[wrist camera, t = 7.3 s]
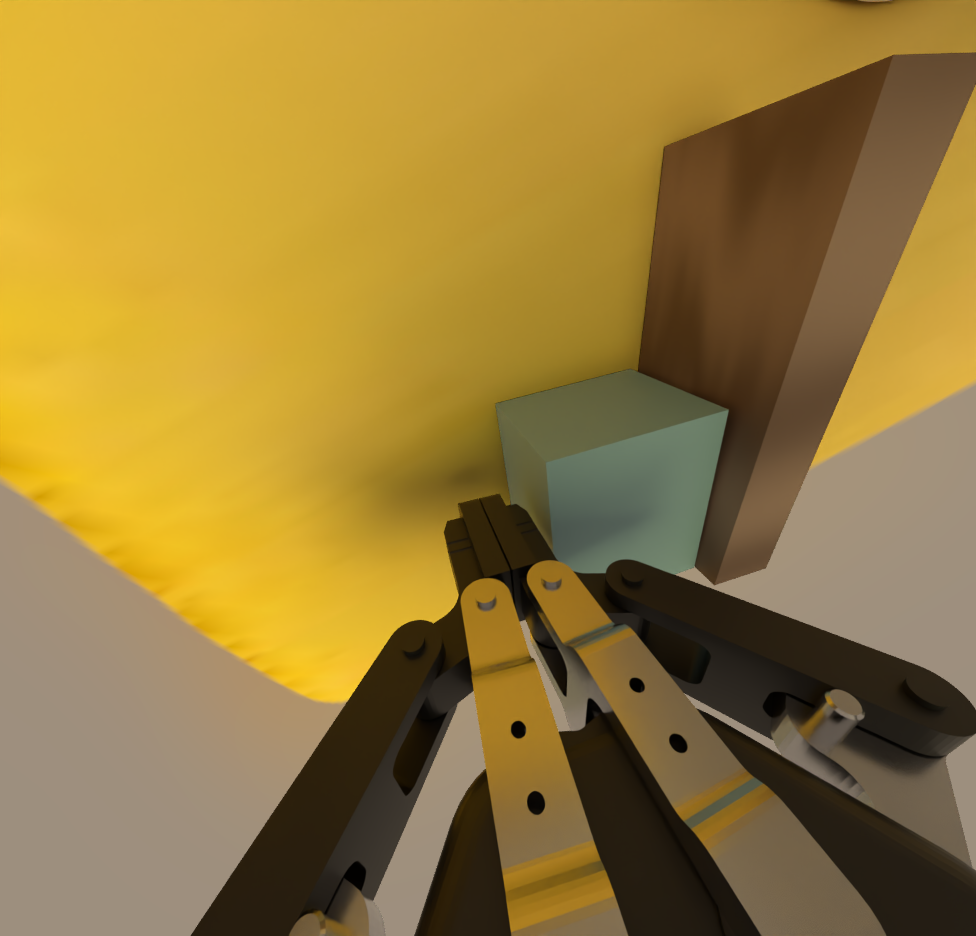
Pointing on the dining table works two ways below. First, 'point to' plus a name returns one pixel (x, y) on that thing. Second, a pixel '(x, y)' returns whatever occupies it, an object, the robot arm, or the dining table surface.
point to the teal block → (614, 469)
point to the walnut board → (788, 272)
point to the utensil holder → (874, 0)
